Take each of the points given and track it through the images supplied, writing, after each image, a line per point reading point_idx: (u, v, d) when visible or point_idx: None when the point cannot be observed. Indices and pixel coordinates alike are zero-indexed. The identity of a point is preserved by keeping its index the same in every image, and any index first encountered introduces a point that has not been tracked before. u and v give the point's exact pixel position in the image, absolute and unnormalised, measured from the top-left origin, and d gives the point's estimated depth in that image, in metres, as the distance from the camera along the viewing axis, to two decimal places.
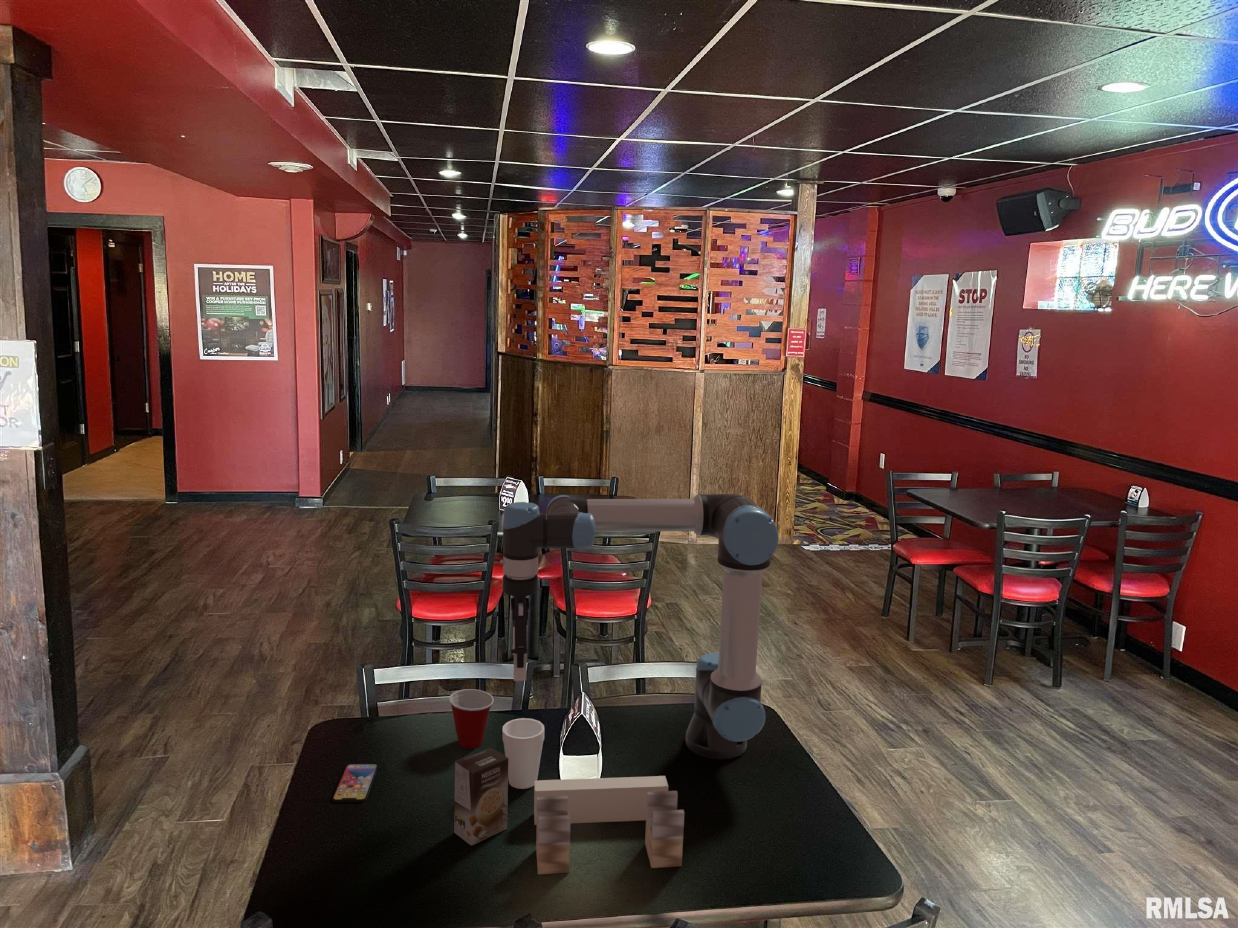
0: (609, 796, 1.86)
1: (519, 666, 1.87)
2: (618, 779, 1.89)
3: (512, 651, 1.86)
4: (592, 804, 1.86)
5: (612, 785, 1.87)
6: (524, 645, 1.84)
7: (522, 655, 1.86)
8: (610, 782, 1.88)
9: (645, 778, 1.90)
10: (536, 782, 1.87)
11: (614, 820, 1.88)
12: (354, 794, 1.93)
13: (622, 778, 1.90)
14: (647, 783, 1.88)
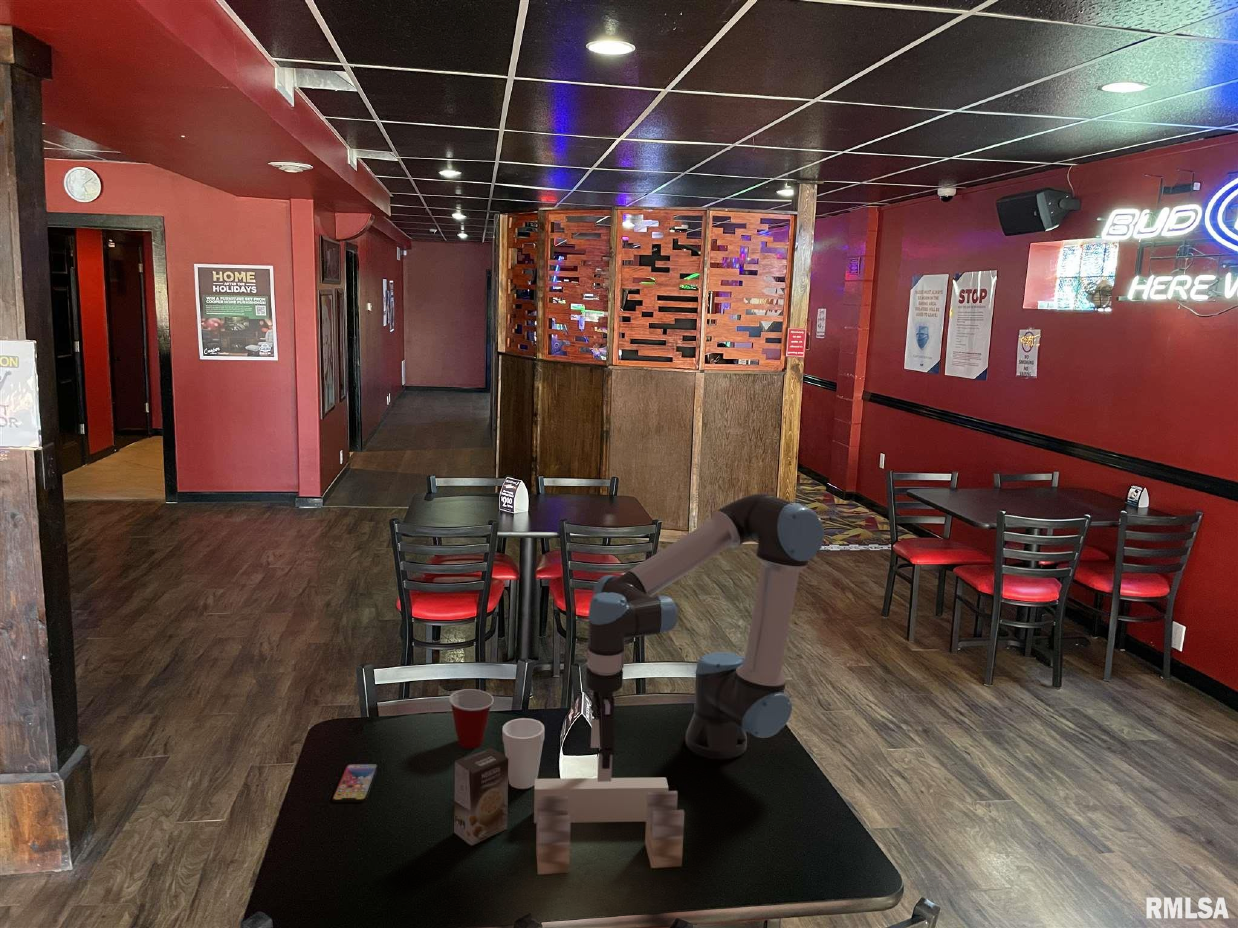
0: (609, 796, 1.86)
1: (605, 767, 1.78)
2: (618, 779, 1.89)
3: (598, 752, 1.77)
4: (592, 804, 1.86)
5: (612, 785, 1.87)
6: (611, 746, 1.76)
7: (608, 756, 1.77)
8: (610, 782, 1.88)
9: (646, 779, 1.90)
10: (536, 780, 1.88)
11: (614, 820, 1.87)
12: (354, 794, 1.93)
13: (622, 778, 1.90)
14: (647, 784, 1.88)
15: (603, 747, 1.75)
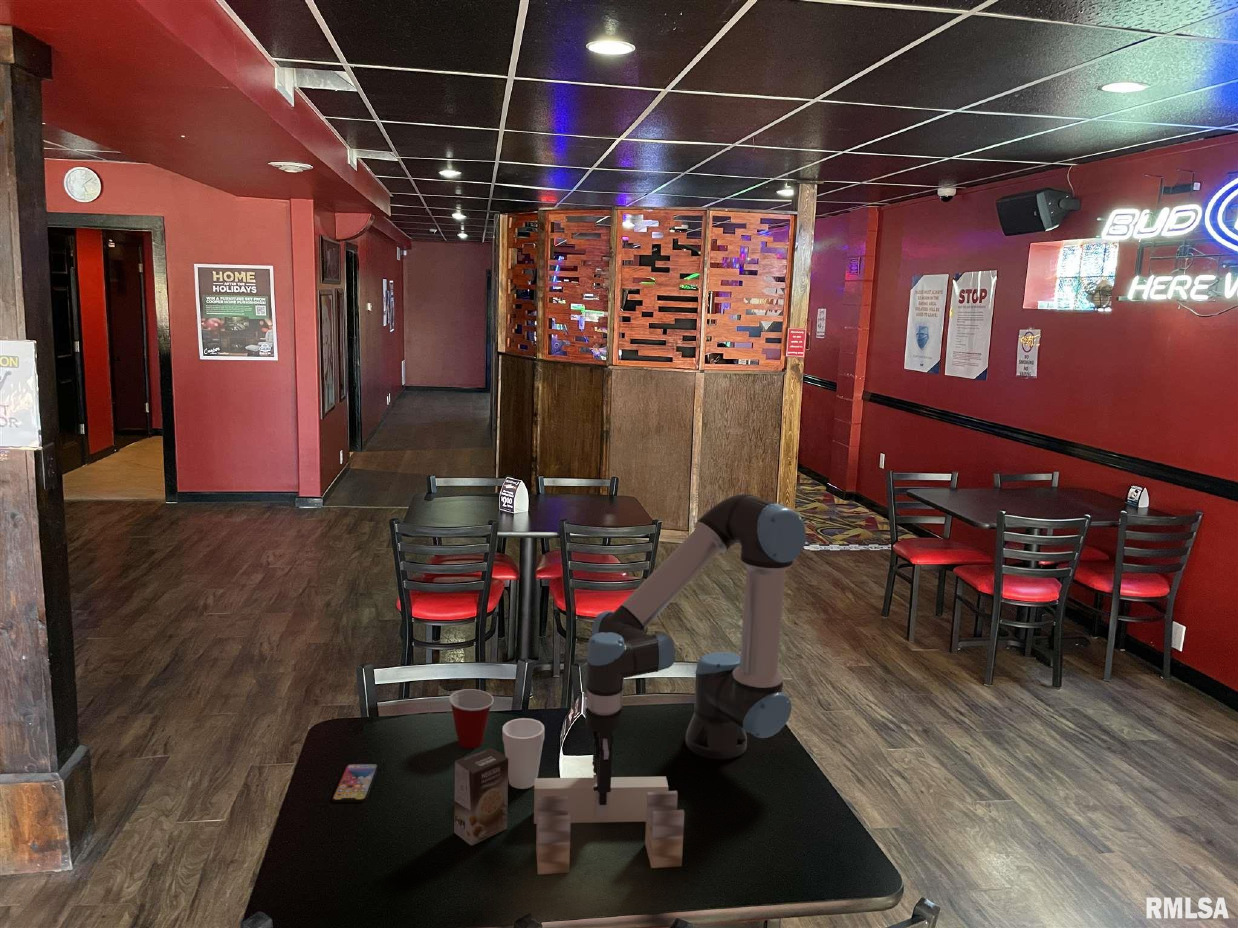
0: (609, 795, 1.86)
1: (602, 803, 1.84)
2: (618, 779, 1.89)
3: (595, 790, 1.83)
4: (592, 803, 1.86)
5: (612, 784, 1.87)
6: (608, 786, 1.82)
7: (605, 793, 1.84)
8: None
9: (645, 778, 1.90)
10: (536, 780, 1.88)
11: (614, 820, 1.87)
12: (354, 794, 1.93)
13: (622, 778, 1.90)
14: (647, 783, 1.88)
15: (600, 787, 1.81)
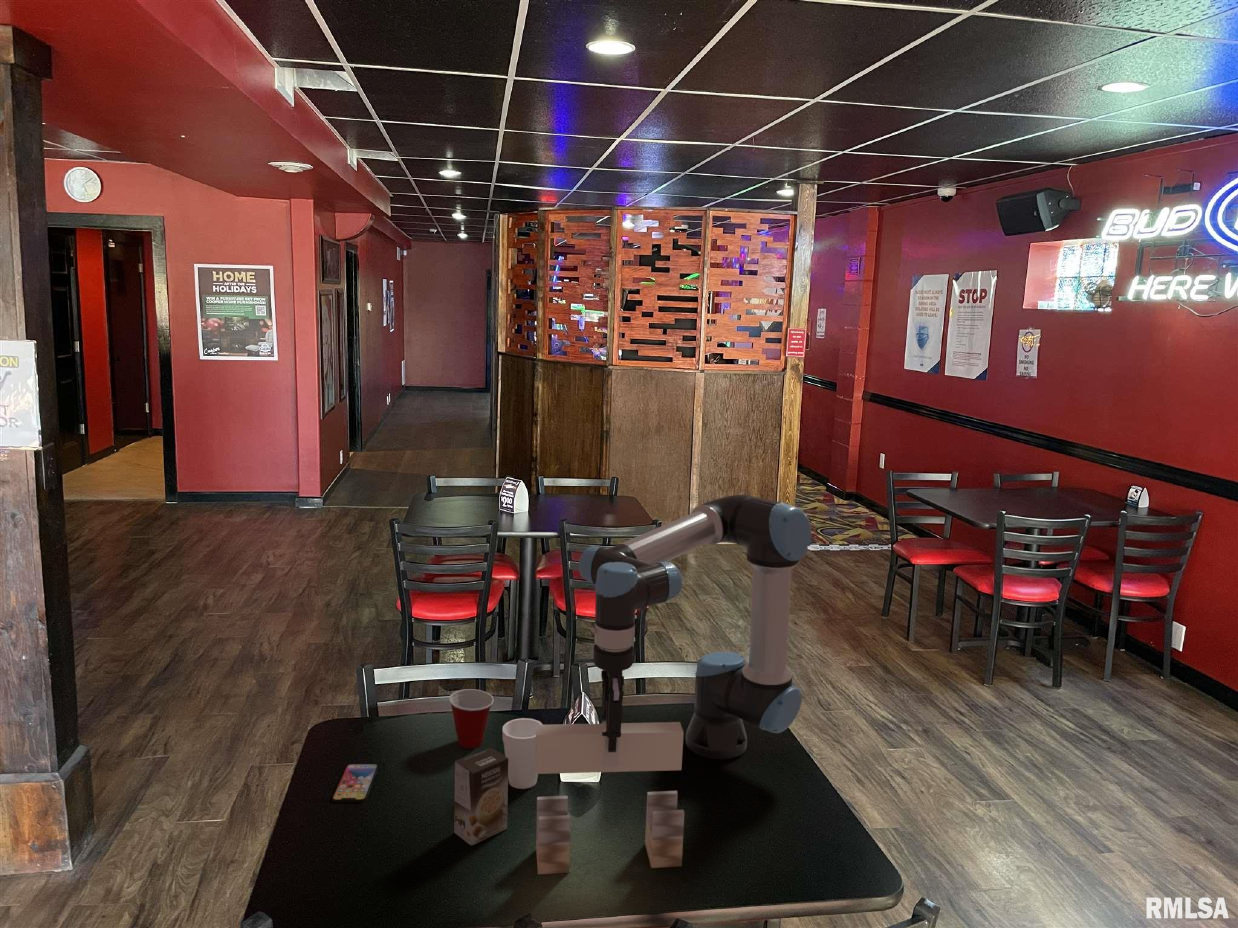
0: (619, 742, 1.70)
1: (611, 750, 1.68)
2: (628, 724, 1.73)
3: (604, 735, 1.67)
4: (600, 751, 1.69)
5: (622, 730, 1.70)
6: (618, 730, 1.65)
7: (615, 738, 1.67)
8: None
9: (658, 724, 1.73)
10: (538, 726, 1.71)
11: (624, 769, 1.71)
12: (354, 794, 1.93)
13: (633, 724, 1.73)
14: (660, 728, 1.72)
15: (609, 731, 1.65)
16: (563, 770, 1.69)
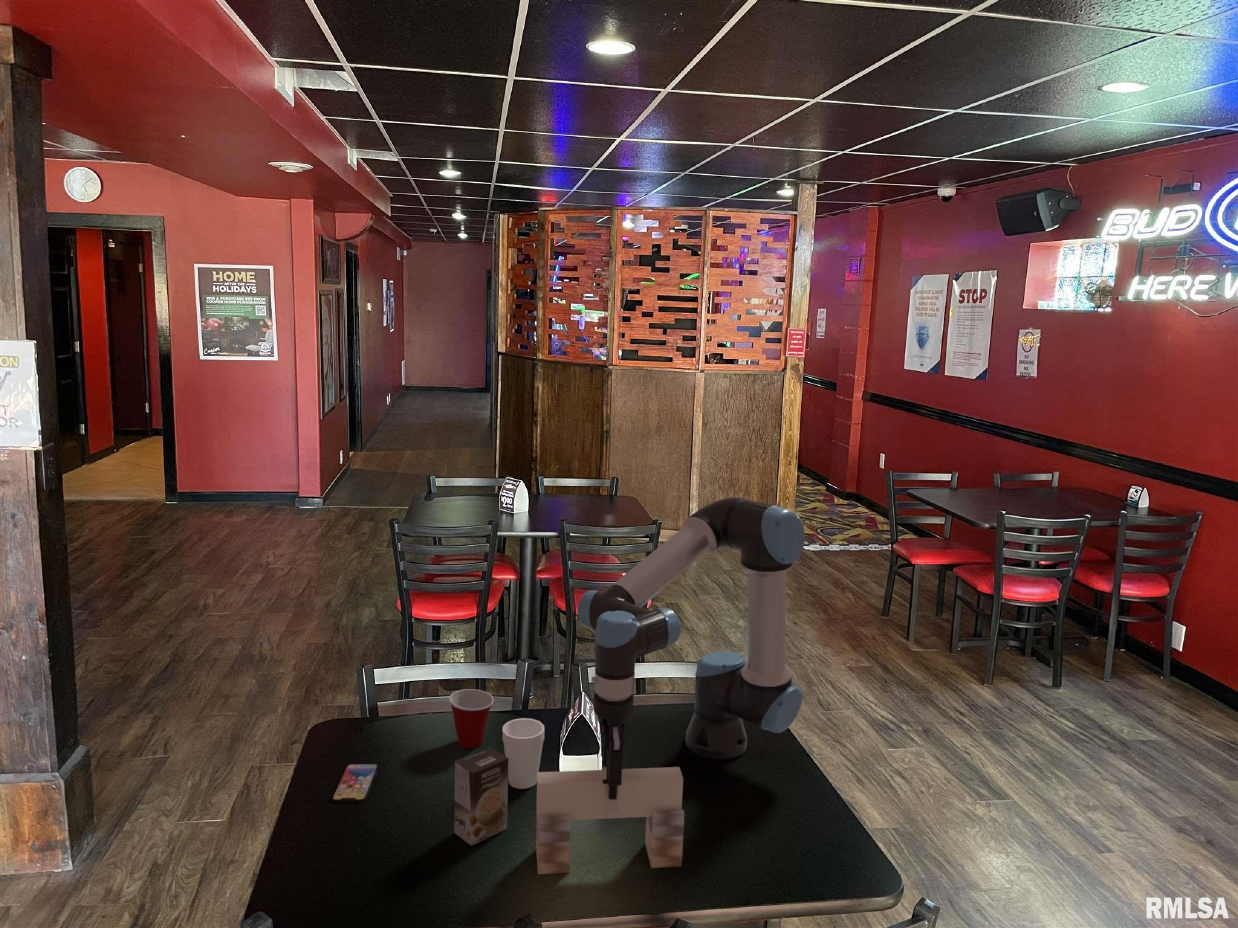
0: (619, 789, 1.71)
1: (611, 798, 1.69)
2: (628, 770, 1.74)
3: (604, 783, 1.68)
4: (600, 798, 1.70)
5: (622, 777, 1.71)
6: (619, 779, 1.66)
7: (615, 786, 1.68)
8: None
9: (657, 769, 1.75)
10: (539, 774, 1.71)
11: (624, 815, 1.72)
12: (353, 794, 1.93)
13: (632, 769, 1.74)
14: (660, 774, 1.73)
15: (610, 780, 1.66)
16: None
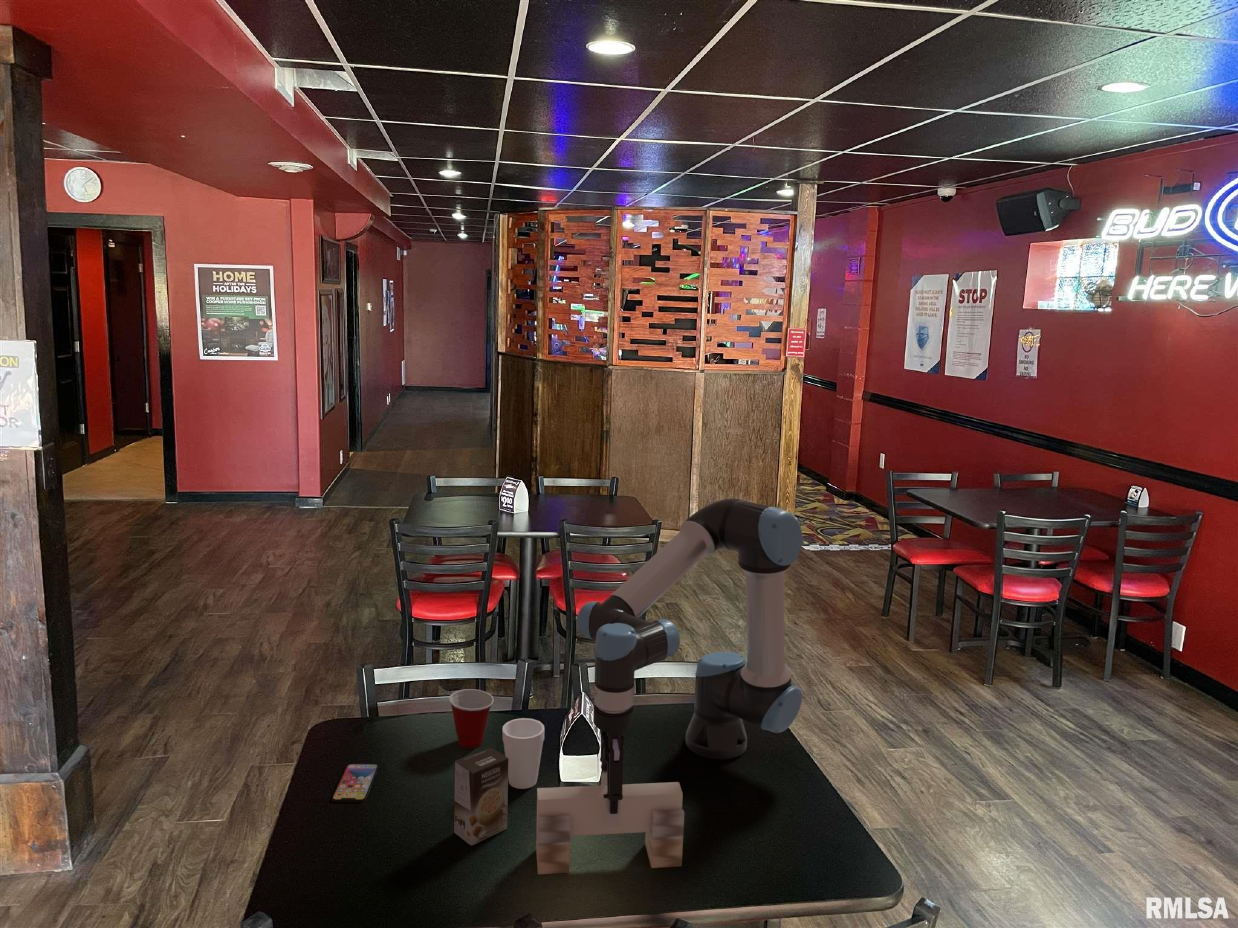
0: None
1: (612, 812, 1.68)
2: (628, 786, 1.74)
3: (605, 797, 1.67)
4: (600, 814, 1.71)
5: (622, 792, 1.72)
6: (619, 792, 1.65)
7: (616, 800, 1.67)
8: None
9: (657, 785, 1.75)
10: (539, 790, 1.72)
11: (624, 831, 1.73)
12: (353, 794, 1.93)
13: (632, 785, 1.75)
14: (660, 790, 1.73)
15: (611, 793, 1.65)
16: None
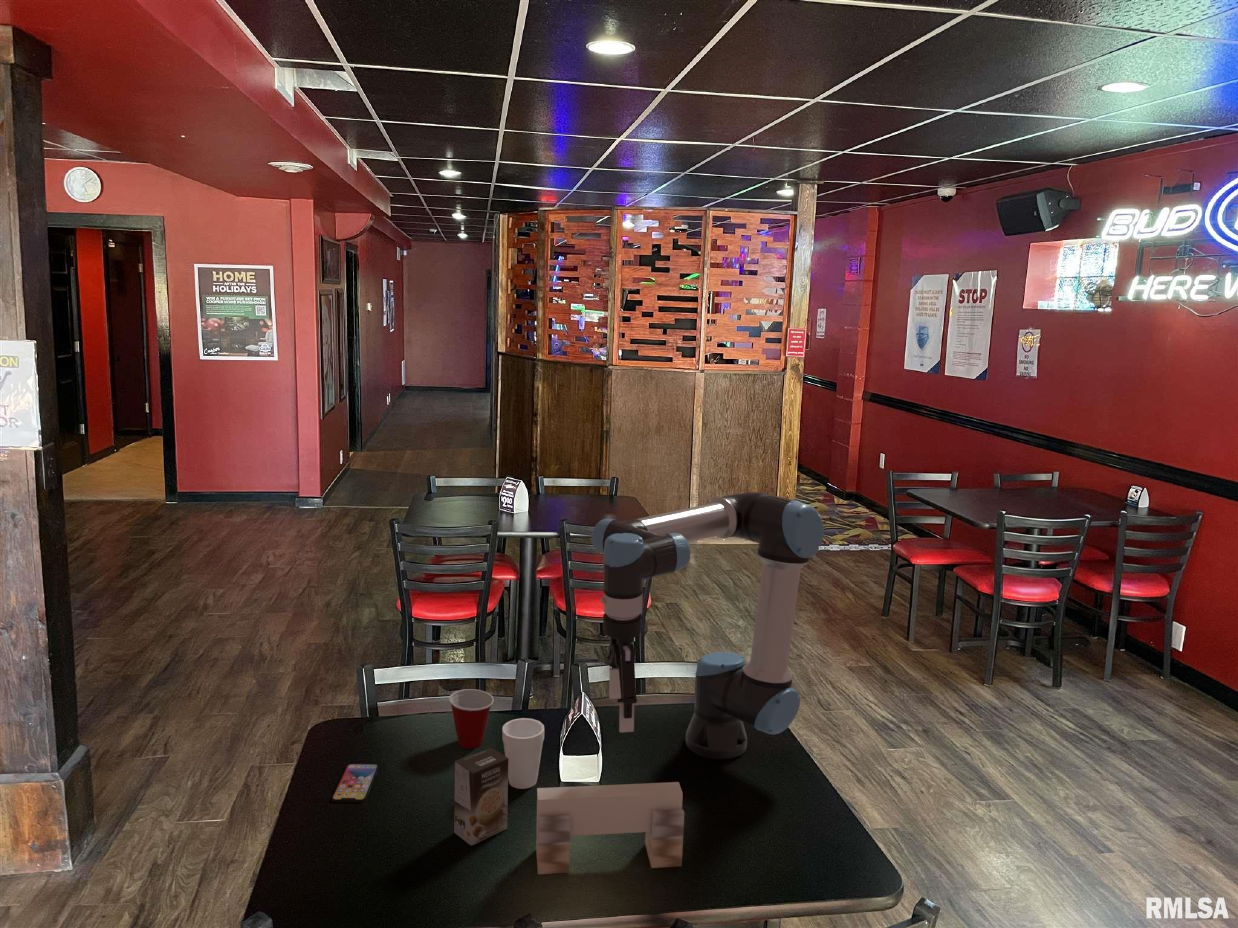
0: (619, 804, 1.71)
1: (627, 716, 1.68)
2: (628, 786, 1.74)
3: (619, 700, 1.67)
4: (600, 814, 1.71)
5: (622, 792, 1.72)
6: (633, 694, 1.66)
7: (630, 704, 1.67)
8: (619, 789, 1.73)
9: (657, 785, 1.75)
10: (539, 790, 1.72)
11: (624, 831, 1.73)
12: (353, 794, 1.93)
13: (632, 785, 1.75)
14: (660, 790, 1.73)
15: (625, 695, 1.65)
16: None
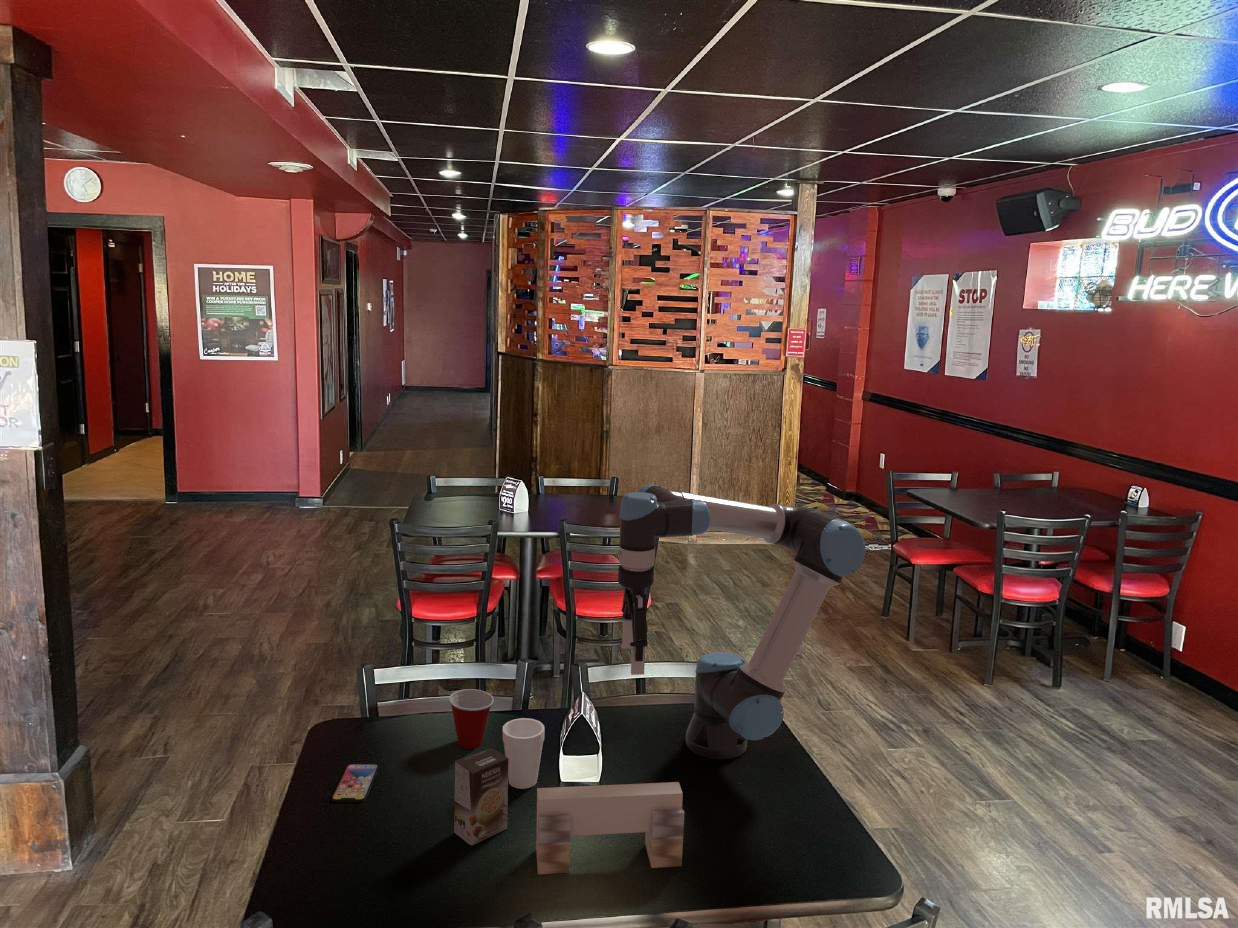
0: (619, 804, 1.71)
1: (638, 659, 1.83)
2: (628, 786, 1.74)
3: (631, 644, 1.82)
4: (600, 814, 1.71)
5: (622, 792, 1.72)
6: (644, 638, 1.81)
7: (641, 648, 1.82)
8: (619, 789, 1.73)
9: (657, 785, 1.75)
10: (539, 790, 1.72)
11: (624, 831, 1.73)
12: (353, 794, 1.93)
13: (632, 785, 1.75)
14: (660, 790, 1.73)
15: (636, 639, 1.80)
16: None
